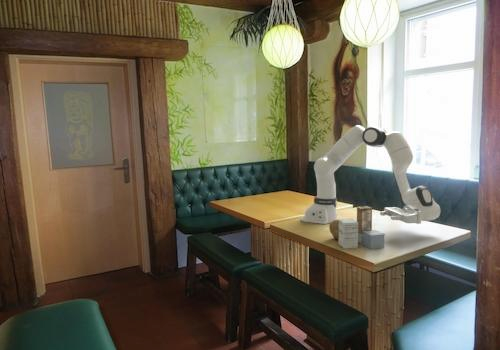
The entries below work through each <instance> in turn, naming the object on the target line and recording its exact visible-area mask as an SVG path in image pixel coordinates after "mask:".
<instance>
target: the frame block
mask: <svg viewBox="0 0 500 350" xmlns="http://www.w3.org/2000/svg"><path fill="white" fill-rule="evenodd" d="M372 218H373V207H372V206H371V207H370V206H367V205H365V206H356V221H357V222H358V233H359V234H363V231H370V230H373V224H372V223H373V222H372V221H373V219H372Z"/></svg>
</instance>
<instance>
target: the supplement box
mask: <svg viewBox="0 0 500 350" xmlns="http://www.w3.org/2000/svg"><path fill="white" fill-rule="evenodd" d="M338 220H339V239H338V244H339V246H341V247H342V249H355V248H356V249H357V248H358V247H359V242H358V222H357V220H356V219H354V218H338Z"/></svg>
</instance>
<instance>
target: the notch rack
mask: <svg viewBox="0 0 500 350" xmlns="http://www.w3.org/2000/svg"><path fill="white" fill-rule="evenodd" d="M358 243H360V244H362V245H363V246H365V247H366V248H369V249H370V250H373V249H380V248H382V249H383V248H384V247H385V233H383V232H381V231H379V230H377V229H372V230H370V231H363V234H359V233H358Z"/></svg>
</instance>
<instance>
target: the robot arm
mask: <svg viewBox="0 0 500 350" xmlns="http://www.w3.org/2000/svg"><path fill="white" fill-rule="evenodd" d="M363 144H365V145H367V146H369V147H372V148H381V147H384V148H385V149H386V151H387V154H388V156H389V158H390V161H391V166H392V174H393V177H394V181H395V184H396V186H397V189H398V193H399V201H400V203H401V205H402V207H403V208H400V207H397V206H392V207H391V206H390V207H389V206H388V207H387V206H386V207H384V208H383V211H380V212H379V215H380V216H388V217H390V220H391V221H392V220H393V221H400V222H402V223H406V224H417V225H419V224H420V225H421V224H422V222H425V221H426V222H427V221H433V220H436V219H438V218H439V216H440V214H441V207H440V205H439V204H438V203H437V202H436V201H435V199H434V198H433V194H432V191H431V190H430V189H429V188H428V187H427V186H425V185H418V186H416V187H414V188H411V187H410V186H411V185H410V183H409V180H408V178H407V171H408V168H409V166H410V165H411V163H412V162H413V158H414V156H413V151H412V149H411V147H410V146H409V143H408V140H407V139H406V138H405V137H404V136H403V134H402V133H401V132H400V131H396V130H395V131H391V132H389V133H388V132H387V131H386V130H385V129H384V128H382V127H380V126H369V127H367V128H364V127H363V126H362V125H355V126H353V127H351V128H350V129H349V130H348V131H346V133H344V134H343V135H342V136H341V137H340V138H339V139H338V140H337V141H336V142H335V143H334V144H333V145H332V147H331V148H330V149H329V150H328V152H326V153H325V155H324V156H322V157H319V158H318V159H316V161H315V162H314V165H313V170H314V173H315V178H316V188H317V189H316V193H317V195H316V196H315V197H314V198H313V203H312V204H311V205H309V206H308V207H307V208H306V209H305V211H304V215H302V216H301V217H300V221H301V222H305V223H314V224H320V225H321V224H323V225H326V224H330V223H331V222H332V221H334V220H339V217H338V213H337V212H338V211H337V205H338V199H337V196H336V195H337V184H336V180H335V179H336V178H335V172H336V171H337V170H338V169H339V168H340V167H341V166H342V165H343V164H344V163H345V162H346V160H348V158H349V157H350V156H351V155H353V153H355V151H356V150H358V148H359V147H361V146H362V145H363Z"/></svg>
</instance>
